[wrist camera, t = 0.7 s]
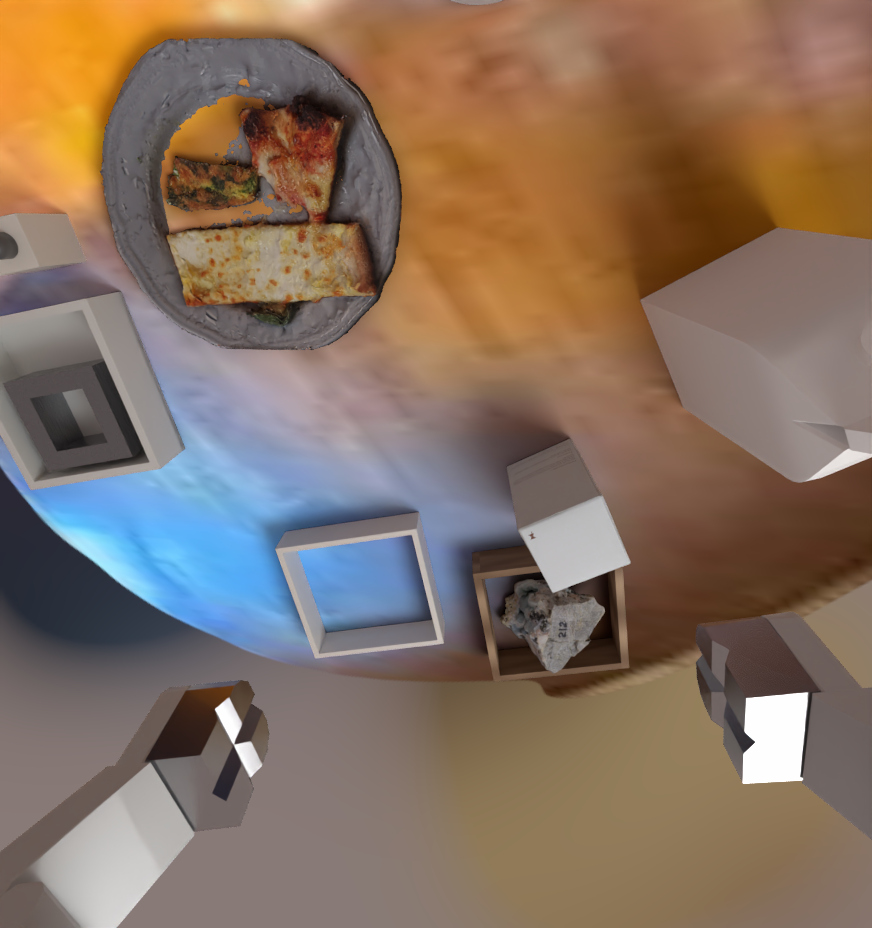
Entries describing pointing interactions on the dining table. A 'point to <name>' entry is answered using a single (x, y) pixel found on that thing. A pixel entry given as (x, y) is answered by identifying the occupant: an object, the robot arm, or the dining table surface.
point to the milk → (777, 348)
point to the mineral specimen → (551, 620)
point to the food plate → (255, 194)
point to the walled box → (71, 342)
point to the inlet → (57, 425)
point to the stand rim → (523, 659)
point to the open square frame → (364, 637)
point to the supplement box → (564, 517)
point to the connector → (37, 243)
